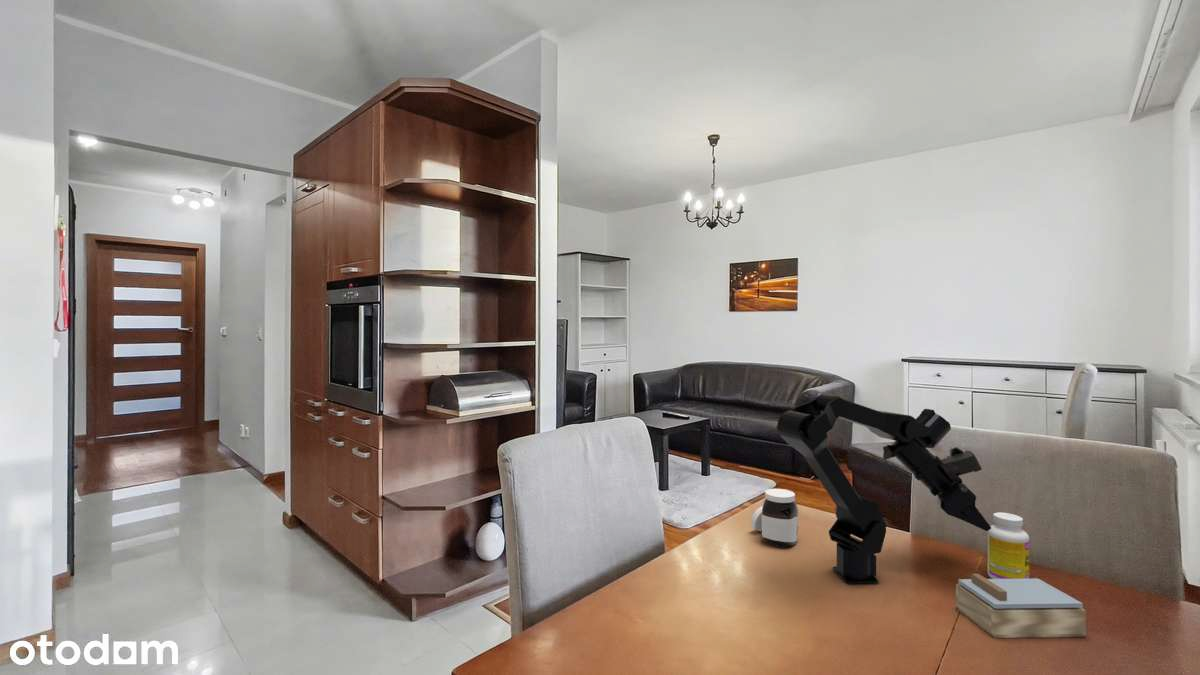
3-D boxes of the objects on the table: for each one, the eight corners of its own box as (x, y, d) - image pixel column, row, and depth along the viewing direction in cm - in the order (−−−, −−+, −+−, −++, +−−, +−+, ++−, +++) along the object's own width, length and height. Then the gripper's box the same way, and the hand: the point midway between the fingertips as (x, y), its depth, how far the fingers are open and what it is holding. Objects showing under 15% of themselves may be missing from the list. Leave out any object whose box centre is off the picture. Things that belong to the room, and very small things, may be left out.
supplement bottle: (1032, 591, 99) (1032, 524, 99) (989, 582, 103) (989, 518, 103) (1026, 577, 105) (1026, 514, 105) (985, 569, 109) (985, 508, 108)
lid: (995, 608, 85) (995, 595, 85) (958, 583, 93) (958, 571, 93) (1082, 607, 85) (1082, 594, 85) (1037, 582, 93) (1037, 570, 93)
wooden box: (994, 637, 84) (994, 611, 84) (956, 608, 93) (955, 584, 93) (1085, 636, 85) (1085, 610, 84) (1038, 607, 94) (1038, 583, 93)
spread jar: (791, 552, 118) (791, 501, 118) (742, 541, 124) (742, 493, 124) (803, 534, 128) (803, 487, 128) (757, 525, 134) (757, 481, 134)
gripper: (962, 446, 99) (1034, 512, 94) (944, 430, 116) (1004, 485, 111) (914, 482, 102) (981, 547, 98) (903, 461, 119) (960, 516, 115)
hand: (983, 521), depth 105 cm, fingers open, 9 cm apart
